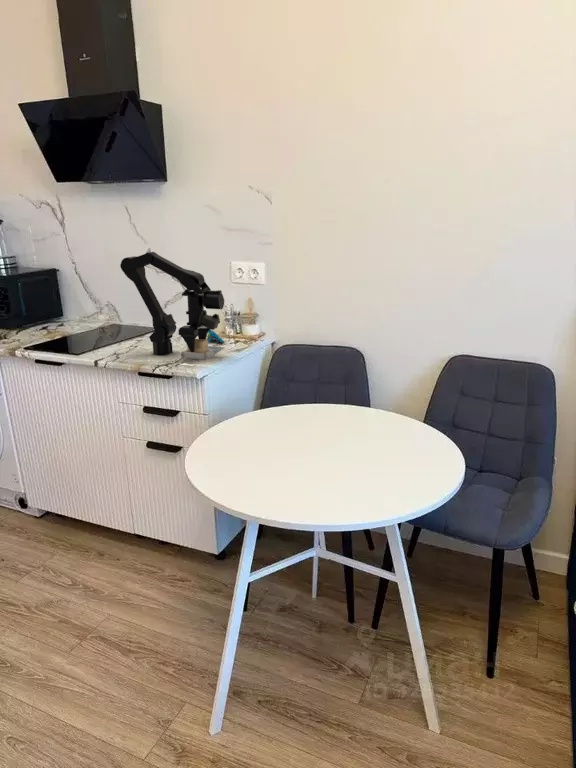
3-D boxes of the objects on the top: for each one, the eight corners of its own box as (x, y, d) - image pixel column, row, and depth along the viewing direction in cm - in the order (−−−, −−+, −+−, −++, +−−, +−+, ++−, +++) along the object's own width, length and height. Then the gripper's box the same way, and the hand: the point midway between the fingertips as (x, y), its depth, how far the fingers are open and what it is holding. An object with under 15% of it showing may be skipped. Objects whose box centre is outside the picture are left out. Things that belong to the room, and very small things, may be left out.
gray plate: (205, 362, 202) (204, 354, 201) (180, 360, 204) (179, 352, 204) (225, 349, 220) (225, 342, 219) (202, 348, 223) (202, 340, 222)
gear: (227, 341, 226) (209, 326, 222) (218, 352, 225) (200, 337, 222) (220, 339, 236) (203, 324, 232) (211, 350, 236) (194, 335, 232)
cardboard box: (188, 356, 207) (187, 340, 205) (192, 353, 210) (191, 337, 208) (204, 357, 205) (203, 341, 203) (208, 355, 209) (207, 339, 207)
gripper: (205, 313, 191) (207, 357, 196) (225, 305, 208) (227, 345, 213) (176, 312, 194) (179, 354, 199) (198, 303, 211) (200, 343, 216)
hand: (197, 349), depth 207 cm, fingers open, 9 cm apart
